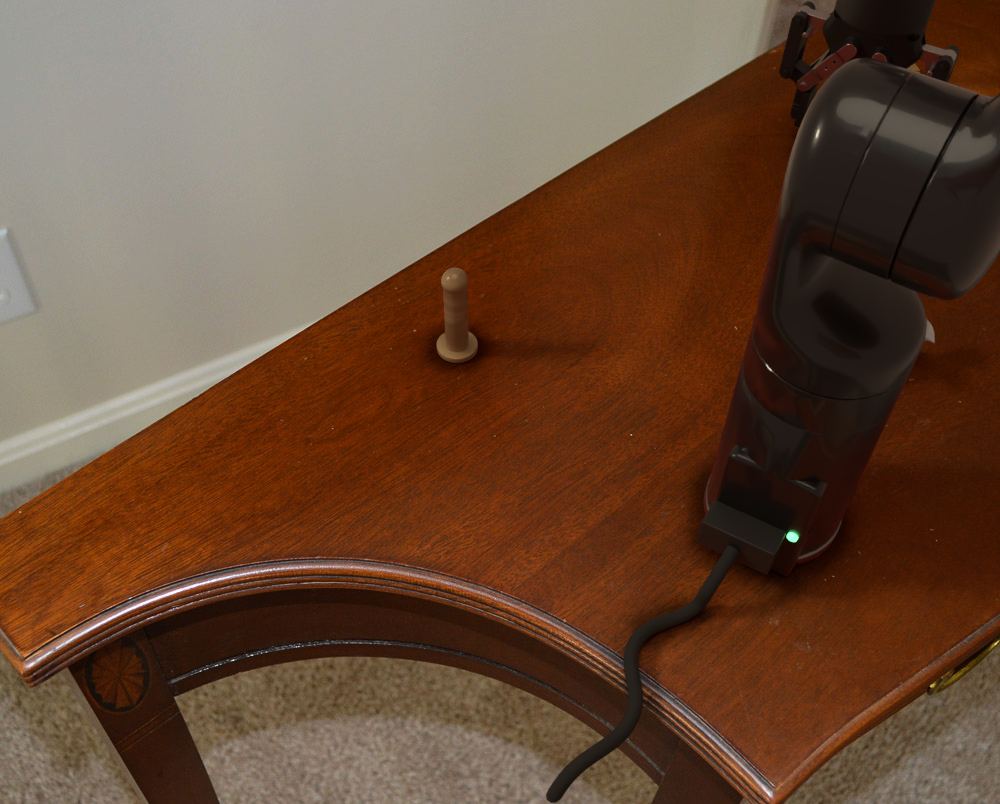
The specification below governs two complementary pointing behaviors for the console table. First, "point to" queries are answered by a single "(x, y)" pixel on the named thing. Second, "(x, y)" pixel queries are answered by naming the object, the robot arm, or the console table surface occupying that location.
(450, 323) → the left peg
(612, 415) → the console table surface
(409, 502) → the console table surface
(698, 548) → the console table surface
